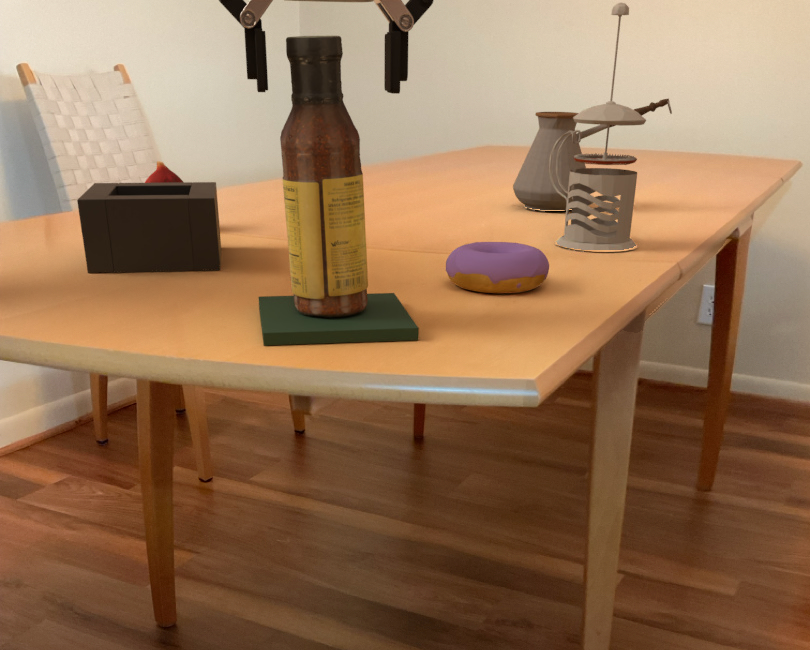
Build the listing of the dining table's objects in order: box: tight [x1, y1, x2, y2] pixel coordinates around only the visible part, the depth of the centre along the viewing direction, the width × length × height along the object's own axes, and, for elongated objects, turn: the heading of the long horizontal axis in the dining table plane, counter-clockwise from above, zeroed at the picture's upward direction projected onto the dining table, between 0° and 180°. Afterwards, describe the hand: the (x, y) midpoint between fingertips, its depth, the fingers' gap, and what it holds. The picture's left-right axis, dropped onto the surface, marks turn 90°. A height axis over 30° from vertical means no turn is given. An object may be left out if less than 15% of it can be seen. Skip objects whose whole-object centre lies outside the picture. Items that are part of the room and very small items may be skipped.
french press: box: [549, 2, 647, 250], centre depth 104 cm, size 10×12×25 cm
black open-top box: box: [76, 181, 222, 274], centre depth 97 cm, size 13×13×7 cm
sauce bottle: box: [279, 35, 369, 318], centre depth 71 cm, size 7×6×20 cm
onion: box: [144, 160, 184, 183], centre depth 113 cm, size 6×6×8 cm
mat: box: [258, 292, 420, 346], centre depth 75 cm, size 12×12×1 cm
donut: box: [445, 241, 550, 294], centre depth 88 cm, size 10×9×5 cm
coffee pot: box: [512, 97, 673, 210], centre depth 131 cm, size 21×12×15 cm, turn 80°
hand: (328, 92), depth 68 cm, fingers open, 9 cm apart
